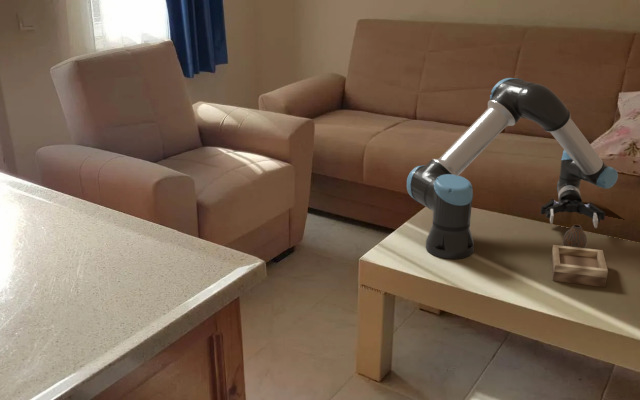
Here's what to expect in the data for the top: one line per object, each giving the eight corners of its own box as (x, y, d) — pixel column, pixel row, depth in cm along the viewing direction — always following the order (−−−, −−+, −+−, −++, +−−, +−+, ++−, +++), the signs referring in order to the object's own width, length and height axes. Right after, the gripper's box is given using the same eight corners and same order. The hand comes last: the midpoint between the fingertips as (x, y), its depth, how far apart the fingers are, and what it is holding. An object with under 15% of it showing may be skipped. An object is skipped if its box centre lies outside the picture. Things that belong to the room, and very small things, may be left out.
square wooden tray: (552, 280, 180) (554, 265, 178) (551, 259, 192) (553, 244, 191) (605, 287, 176) (607, 271, 174) (600, 265, 188) (602, 250, 187)
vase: (589, 253, 196) (593, 228, 193) (572, 257, 194) (576, 231, 190) (574, 244, 202) (577, 220, 199) (557, 248, 199) (560, 223, 196)
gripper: (606, 212, 221) (613, 236, 202) (532, 205, 228) (532, 228, 209) (609, 192, 218) (617, 215, 199) (534, 186, 225) (535, 207, 206)
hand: (573, 222), depth 204 cm, fingers open, 13 cm apart
